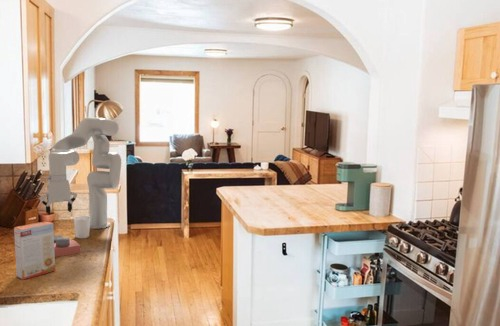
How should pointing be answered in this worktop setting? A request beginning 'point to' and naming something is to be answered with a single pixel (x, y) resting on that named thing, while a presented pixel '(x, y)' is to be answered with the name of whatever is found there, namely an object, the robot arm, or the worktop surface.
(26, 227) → the cracker box
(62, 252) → the pink two-prong plug
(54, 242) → the gray rectangular box
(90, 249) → the worktop surface
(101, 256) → the worktop surface
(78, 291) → the worktop surface
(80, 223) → the white cup
